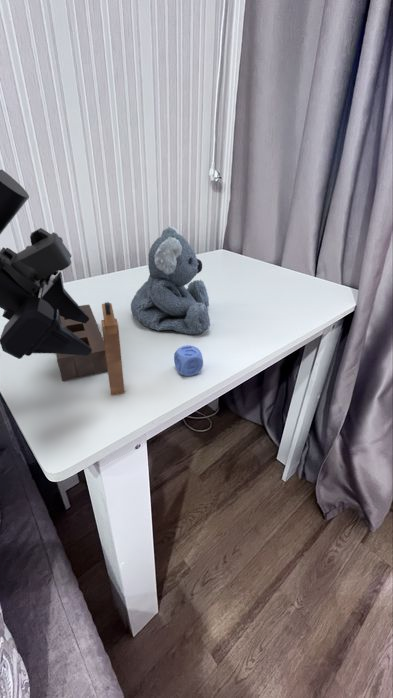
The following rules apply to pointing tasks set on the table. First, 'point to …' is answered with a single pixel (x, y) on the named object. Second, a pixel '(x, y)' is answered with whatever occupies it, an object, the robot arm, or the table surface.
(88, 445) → the table surface
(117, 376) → the brown beam with peg
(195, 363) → the decorative dice
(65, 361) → the rack
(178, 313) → the koala plush
